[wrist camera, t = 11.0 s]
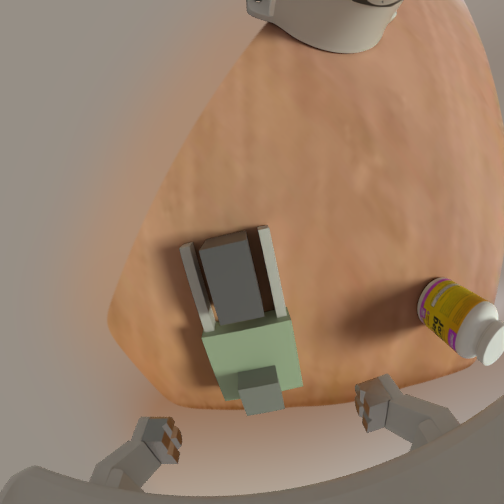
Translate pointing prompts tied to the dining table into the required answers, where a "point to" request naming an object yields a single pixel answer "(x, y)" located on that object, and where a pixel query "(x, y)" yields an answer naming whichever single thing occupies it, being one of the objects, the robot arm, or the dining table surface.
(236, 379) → the two-prong power plug
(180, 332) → the dining table surface
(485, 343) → the supplement bottle
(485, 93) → the dining table surface
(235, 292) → the grey rectangular block
